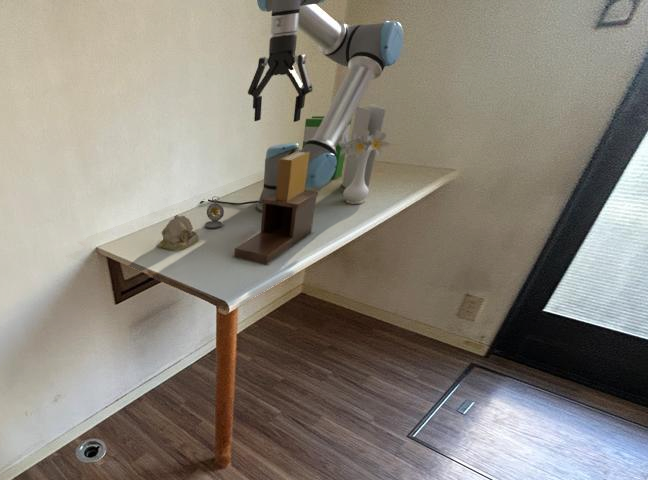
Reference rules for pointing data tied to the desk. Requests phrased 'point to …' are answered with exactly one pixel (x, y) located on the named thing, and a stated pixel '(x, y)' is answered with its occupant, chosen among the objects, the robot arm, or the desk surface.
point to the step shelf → (279, 227)
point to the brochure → (363, 122)
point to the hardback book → (310, 132)
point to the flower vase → (361, 162)
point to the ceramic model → (178, 234)
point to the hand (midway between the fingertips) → (276, 120)
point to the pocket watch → (214, 210)
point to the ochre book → (292, 175)
